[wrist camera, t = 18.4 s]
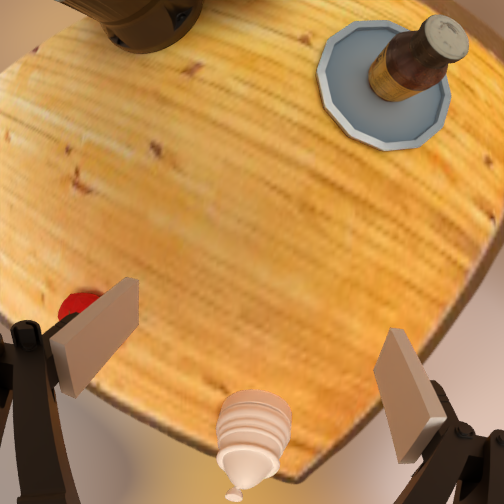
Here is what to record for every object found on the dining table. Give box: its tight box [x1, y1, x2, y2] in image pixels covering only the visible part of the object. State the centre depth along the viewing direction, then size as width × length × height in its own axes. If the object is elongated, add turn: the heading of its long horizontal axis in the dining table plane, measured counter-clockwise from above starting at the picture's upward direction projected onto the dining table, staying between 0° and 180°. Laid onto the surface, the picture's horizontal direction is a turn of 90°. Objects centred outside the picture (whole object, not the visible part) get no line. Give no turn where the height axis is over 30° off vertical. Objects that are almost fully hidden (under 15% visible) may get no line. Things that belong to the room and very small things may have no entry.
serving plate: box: [316, 20, 451, 151], centre depth 35 cm, size 18×18×2 cm
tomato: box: [58, 293, 100, 322], centre depth 48 cm, size 9×10×8 cm
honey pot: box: [216, 389, 292, 502], centre depth 45 cm, size 13×13×18 cm
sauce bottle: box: [368, 15, 469, 102], centre depth 26 cm, size 7×6×20 cm
